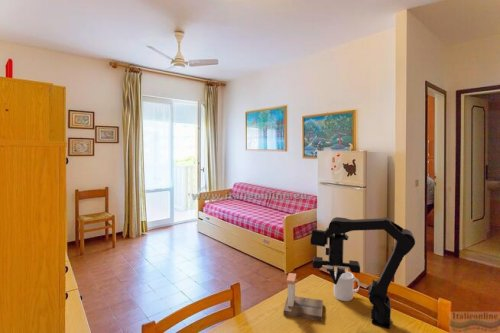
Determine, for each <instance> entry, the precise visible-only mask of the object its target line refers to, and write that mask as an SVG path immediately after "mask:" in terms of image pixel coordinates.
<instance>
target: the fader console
mask: <svg viewBox="0 0 500 333" xmlns="http://www.w3.org/2000/svg"><path fill="white" fill-rule="evenodd" d="M323 304H324V301H323V300H322V299H317V298H309V297H302V296H296V295H295V301H294V306H293V307H291V306H288V295H287V297H286V300H285V304H284V307H283V316H288V317H293V318H300V319H306V320H309V321H311V320H312V321H316V322H318V321H319V322H322V321H323Z"/></svg>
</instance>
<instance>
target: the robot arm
mask: <svg viewBox="0 0 500 333" xmlns="http://www.w3.org/2000/svg"><path fill="white" fill-rule="evenodd" d="M380 230H381V231H385V232H386V233H388V235H390V237H392V238H393V240H394V245H393V250H392V251H391V253H390V255H389V258H388V260H387V261H386V262H385V263H386V264H385V265H384V267H383V269H382V272H381V273H380V276H379V278H378V279H377V280H375V279H372V281H371V283H370V285H369V286H368V291H367V292H368V293H367V295H368V301H369V302H370V304H371V305H372V307H371V310H370V311H371V312H370V313H371V314H370V319H371V324H372V325H376V326H379V327H382V328H386V329H391V324H392V318H391V317H392V307H391V298H390V297H389V296H388V290H389V287H390V285H391V283H392V281H393V279H394V277H395V274H397V273H396V272H397V271H398V269H399V267H400V265H401V263H402V261H403V258H405V256H406V255H408V253H410V252H411V251H412V249H413V248H414V247H415V244H416V240H415V236H414V234H413V233H412V230H409V229H406V228H403V227H402V226H400V225H399V224H397V223H395V221H393V220H391V219H390V218H388V217H382V218H364V219H363V218H361V219H350V218H346V217H341V216H340V217H337V216H336V217H333V218H332V219H331V220H330V222H329V224H328V226H327V227H326V229H325V230H321V229H316V228H312V230H311V236H310V246H311V245H312V246H316V247H323V248H325V256H328V260H324V259H323V257H321V256H313V259H312V268H314V269H319V270H321V269H322V268H323V266H326V271H327V272H329V275H330V276H331V279H332V281H333V285H334V284H337V282H338V280H339V278H340V276H341V275H342V273H345V271H346V269H349V272H350V273H352V274H353V273H354V274H360V273H361V266H360V262H359V261H357V260H349V261H348V262H344V241H348V240H349V235H347V233H349V232H355V231H380ZM326 245H328V247H326ZM335 267H336V268H337V269H336V271H337V273H336V279H335V272H336V271H335Z"/></svg>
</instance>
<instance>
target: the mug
mask: <svg viewBox="0 0 500 333" xmlns="http://www.w3.org/2000/svg"><path fill="white" fill-rule="evenodd" d="M334 272H335V279H336V273H337V270H335V271H334ZM355 282H357V284H358V287H357V288H355V289H354V287H355V286H354V283H355ZM360 284H361V283H360V280H359V279H358V278H357V277H355V275H354V274H353V272H351V271H347V270H345V273H342V275H341V276H340V278H339V280H338V282H337V284H334V283H333V295H334V297H335V299H336V300H339V301H342V302H349V301H353V298H354V294H356V293H357V292H358V291H359V289H360V286H361V285H360Z"/></svg>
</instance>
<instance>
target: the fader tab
mask: <svg viewBox="0 0 500 333" xmlns="http://www.w3.org/2000/svg"><path fill="white" fill-rule="evenodd" d="M296 280H297V273H292V272H289V273H288V274H287V278H286V285H287V296H288V306H291V307H293V306H294V301H295V296H296Z"/></svg>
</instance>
